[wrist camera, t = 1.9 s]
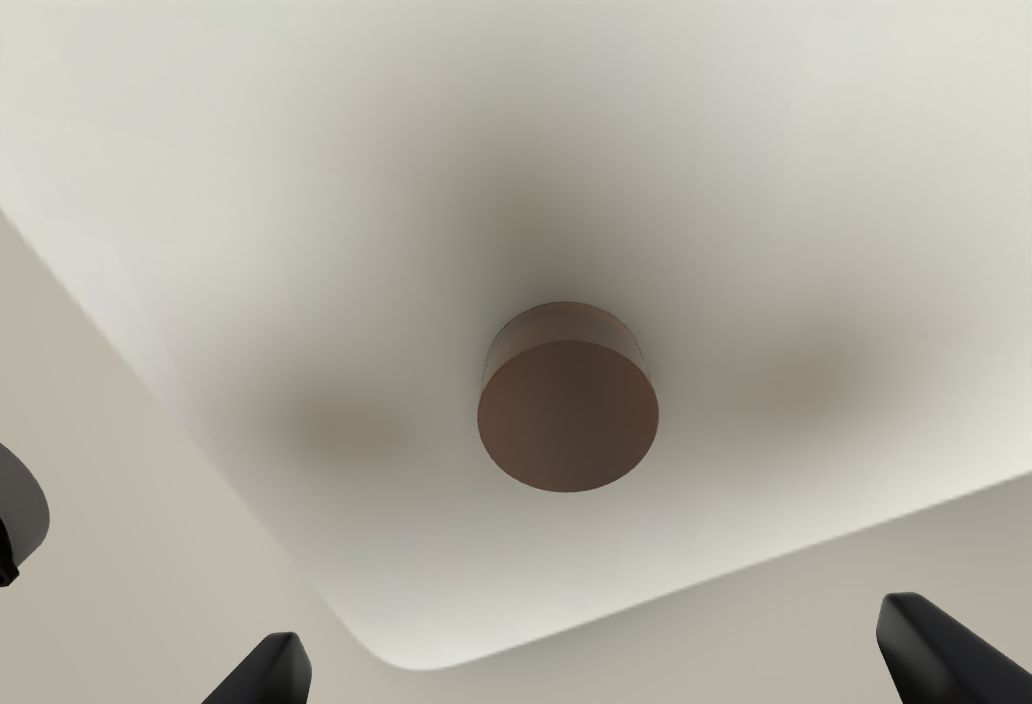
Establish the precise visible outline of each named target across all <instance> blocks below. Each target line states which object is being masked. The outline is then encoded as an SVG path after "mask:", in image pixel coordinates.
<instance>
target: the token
mask: <svg viewBox="0 0 1032 704" xmlns="http://www.w3.org/2000/svg"><path fill="white" fill-rule="evenodd" d="M477 421H478V429H479V433H480V437H481V440H482V442H483V444H484V447H485V449H486V450H487V452H488V453H489V455H490V457H491V458H492V459H493V460H494V462H495V463H496V464H497V465H498V466H499V467H500V468H501V469H502V470H503V471H505V472H506V473H507V474H509V475H510V476H512V477H513V478H515V479H516V480H518V481H520V482H522V483H524V484H527V485H529V486H532V487H535V488H538V489H542V490H547V491H552V492H580V491H587V490H591V489H595V488H599V487H602V486H604V485H607V484H609V483H611V482H613V481H616V480H617V479H619V478H621V477H622V476H624V475H625V474H627V473H628V472H629V471H631V470H632V469H633V468H634V467H635V466H636V465H637V464H638V463H639V462H640V461H641V460H642V459H643V457H644V456H645V455H646V453H647V452H648V450H649V448H650V447H651V445H652V443H653V440H654V438H655V435H656V432H657V427H658V422H659V409H658V401H657V398H656V394H655V391H654V388H653V385H652V383H651V380H650V377H649V374H648V371H647V369H646V366H645V363H644V360H643V357H642V354H641V352H640V349H639V347H638V345H637V342H636V340H635V339H634V337H633V336H632V334H631V333H630V331H629V330H628V329H627V328H626V327H625V326H624V325H623V324H622V323H621V322H620V321H619V320H618V319H616V318H615V317H613V316H612V315H610V314H609V313H607V312H605V311H603V310H601V309H598V308H595V307H592V306H589V305H585V304H580V303H570V302H561V303H551V304H546V305H542V306H539V307H535V308H533V309H531V310H528V311H526V312H524V313H522V314H521V315H519V316H517V317H516V318H514V319H513V320H512V321H511V322H509V323H508V324H507V325H506V326H505V327H504V328H503V329H502V330H501V331H500V333H499V334H498V336H497V337H496V338H495V340H494V342H493V344H492V346H491V347H490V350H489V353H488V356H487V360H486V365H485V371H484V377H483V383H482V388H481V394H480V400H479V406H478V417H477Z"/></svg>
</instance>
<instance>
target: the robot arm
mask: <svg viewBox="0 0 1032 704" xmlns="http://www.w3.org/2000/svg"><path fill="white" fill-rule="evenodd" d="M19 573H20V572H19V570H18V568H17V567H16V565H15V564H14V563H13V561H12V560H11V559H10V557H9V556H8V554H7V553H6V552H5V550H4V549H3V548H2V546H1V545H0V587H7V586H9V585H10V584H11V583H12V582H13V581H14V580H15V579H16V578H17V577H18V576H19ZM876 636H877V642H878V645H879V648H880V650H881V653H882V655H883V657H884V660H885V662H886V665H887V667H888V669H889V672H890V674H891V676H892V679H893V681H894V684H895V686H896V688H897V691H898V693H899V696H900V698H901V700H902V703H903V704H1032V675H1031V674H1030V673H1029V672H1027V671H1026V670H1024V669H1023V668H1022V667H1020V666H1019V665H1018V664H1016V663H1015V662H1013V661H1012V660H1011V659H1009V658H1008V657H1007V656H1005V655H1004V654H1002V653H1001V652H1000V651H998V650H997V649H995V648H994V647H993V646H991V645H990V644H988V643H987V642H986V641H984V640H983V639H982V638H980V637H979V636H977V635H976V634H975V633H973V632H972V631H970V630H969V629H968V628H966V627H965V626H963V625H962V624H961V623H959V622H958V621H957V620H955V619H954V618H952V617H951V616H950V615H948V614H947V613H945V612H944V611H942V610H941V609H940V608H938V607H937V606H935V605H934V604H933V603H932V602H930V601H929V600H927V599H926V598H925V597H923V596H921V595H919V594H917V593H914V592H902V593H889V594H887V595H886V596H885V597H884V598H883V601H882V606H881V610H880V615H879V619H878V624H877V628H876ZM311 677H312V668H311V663H310V660H309V658H308V656H307V654H306V652H305V650H304V647H303V645H302V643H301V641H300V639H299V636H298V635H297V634H296V633H294V632H281V633H272V634H270V635H268V636H267V637H265V638H264V639H263V640H262V641H261V643H259V644H258V645H257V646H256V648H254V649H253V651H252V652H251V653H250V654H249V655H248V656H247V657H246V658H245V659H244V660H243V661H242V662H241V663H240V664H239V665H238V666H237V667H236V668H235V669H234V670H233V671H232V672H231V673H230V674H229V676H227V677H226V678H225V679H224V680H223V682H222V683H221V684H220V685H219V686H218V687H217V688H216V689H215V690H214V691H213V692H212V693H211V694H210V695H209V696H208V697H207V698H206V699H205V700H204V701H203V702H202V703H201V704H306V702H307V698H308V693H309V687H310V683H311Z"/></svg>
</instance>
